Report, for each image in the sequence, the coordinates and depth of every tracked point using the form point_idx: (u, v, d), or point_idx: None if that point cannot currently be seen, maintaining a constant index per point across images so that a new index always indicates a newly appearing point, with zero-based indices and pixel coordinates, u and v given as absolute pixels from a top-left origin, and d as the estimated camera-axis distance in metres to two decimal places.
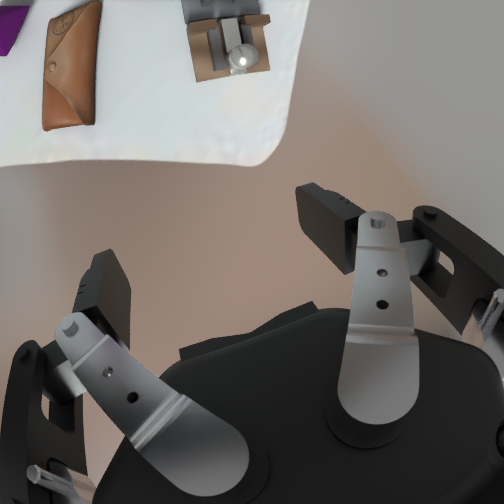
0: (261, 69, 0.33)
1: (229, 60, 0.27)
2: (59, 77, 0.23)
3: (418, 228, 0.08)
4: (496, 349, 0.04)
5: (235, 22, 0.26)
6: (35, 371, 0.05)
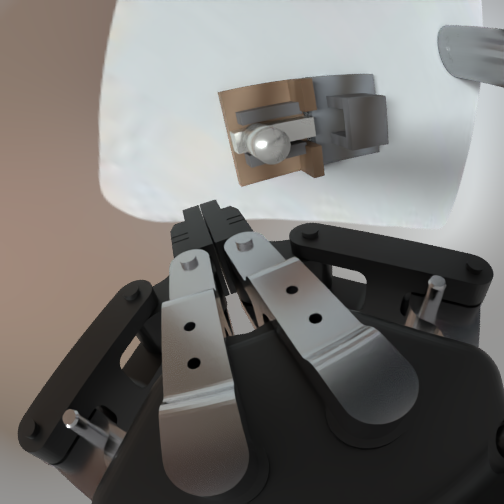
0: (241, 175, 0.28)
1: (260, 126, 0.22)
2: None
3: (305, 254, 0.08)
4: (456, 330, 0.05)
5: (309, 134, 0.26)
6: (134, 319, 0.07)
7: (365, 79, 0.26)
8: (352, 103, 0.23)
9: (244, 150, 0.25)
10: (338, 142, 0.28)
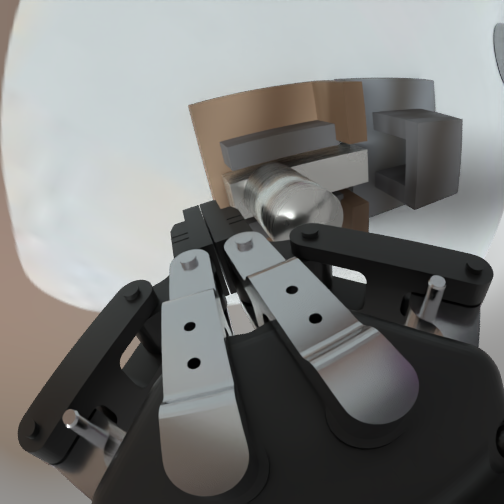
0: None
1: (282, 178, 0.11)
2: None
3: (305, 254, 0.08)
4: (456, 330, 0.05)
5: (359, 180, 0.15)
6: (134, 319, 0.07)
7: (424, 87, 0.15)
8: (423, 131, 0.13)
9: (249, 213, 0.14)
10: (388, 189, 0.17)
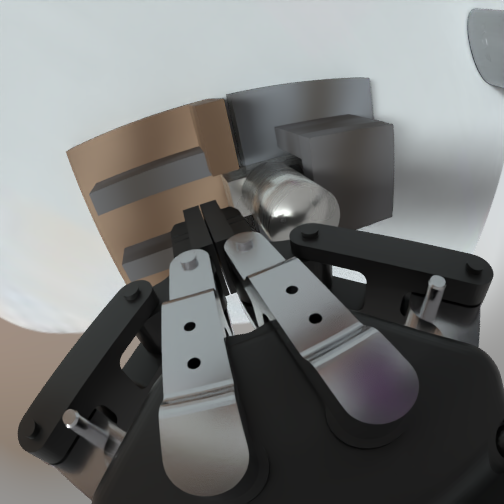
0: (128, 282, 0.17)
1: (280, 176, 0.11)
2: None
3: (305, 254, 0.08)
4: (456, 330, 0.05)
5: None
6: (134, 319, 0.07)
7: (355, 88, 0.14)
8: (320, 147, 0.12)
9: (247, 211, 0.14)
10: None
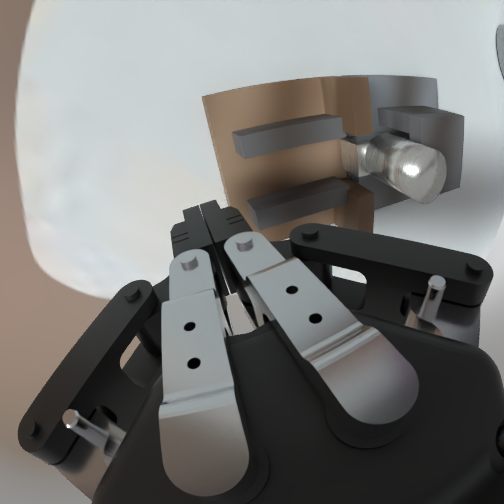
0: None
1: (406, 142, 0.13)
2: None
3: (305, 254, 0.08)
4: (456, 330, 0.05)
5: None
6: (134, 319, 0.07)
7: (428, 85, 0.16)
8: (426, 126, 0.13)
9: (366, 171, 0.16)
10: None
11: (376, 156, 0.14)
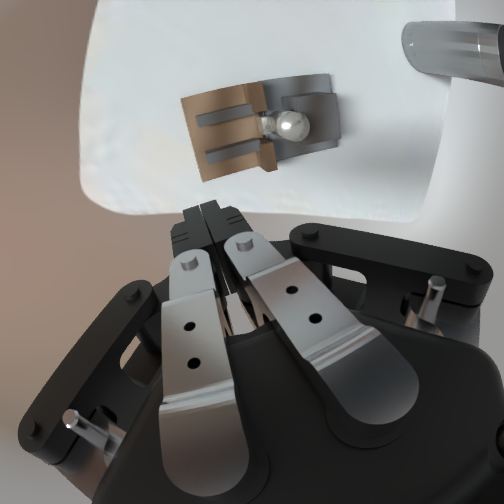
0: (202, 172, 0.31)
1: (284, 111, 0.26)
2: None
3: (305, 254, 0.08)
4: (456, 330, 0.05)
5: None
6: (134, 320, 0.07)
7: (320, 79, 0.29)
8: (301, 102, 0.26)
9: (269, 131, 0.29)
10: None
11: (270, 122, 0.27)
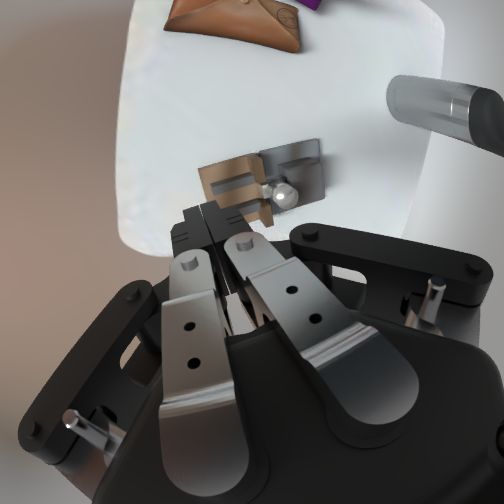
0: None
1: (279, 184, 0.36)
2: (230, 4, 0.24)
3: (305, 254, 0.08)
4: (456, 330, 0.05)
5: None
6: (134, 320, 0.07)
7: (311, 145, 0.40)
8: (292, 174, 0.37)
9: (267, 196, 0.39)
10: None
11: (268, 190, 0.38)
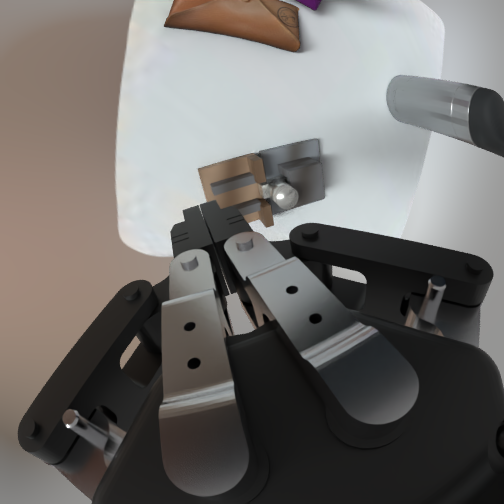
0: None
1: (279, 184, 0.36)
2: (231, 2, 0.24)
3: (305, 254, 0.08)
4: (456, 330, 0.05)
5: None
6: (134, 319, 0.07)
7: (311, 145, 0.40)
8: (292, 174, 0.37)
9: (267, 196, 0.39)
10: None
11: (268, 190, 0.38)
